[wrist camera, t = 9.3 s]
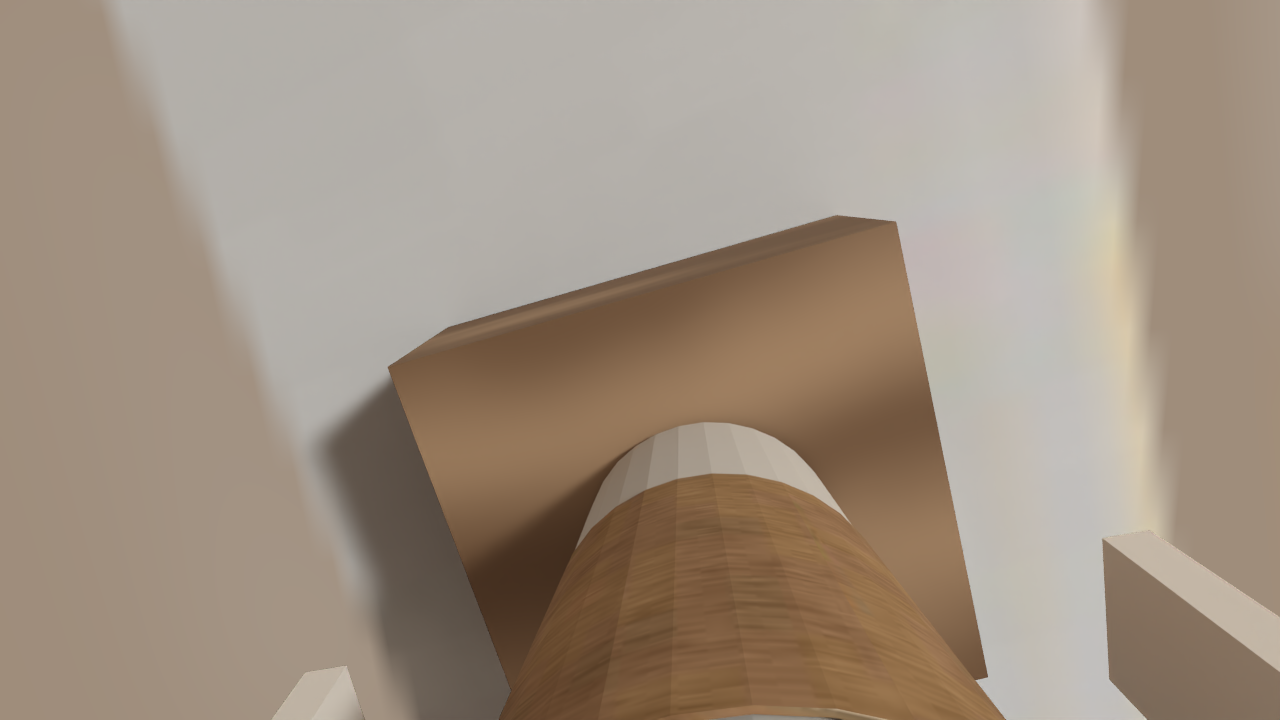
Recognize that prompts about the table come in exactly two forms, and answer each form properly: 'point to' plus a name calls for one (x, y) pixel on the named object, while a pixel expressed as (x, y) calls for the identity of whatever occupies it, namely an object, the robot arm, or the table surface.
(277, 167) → the table surface
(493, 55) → the table surface
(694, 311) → the walnut block
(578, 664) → the coffee cup
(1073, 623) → the table surface
